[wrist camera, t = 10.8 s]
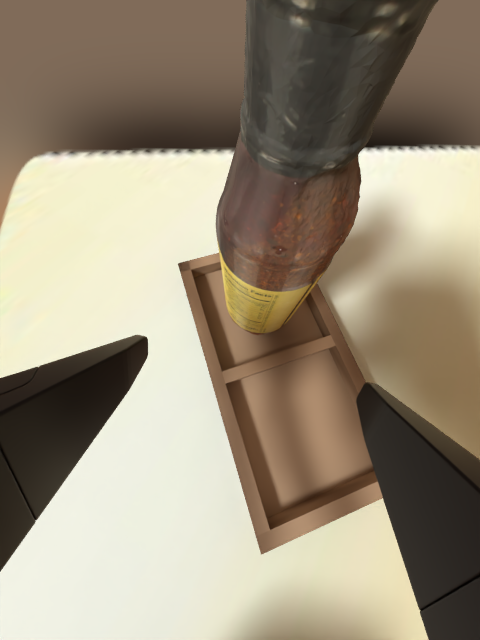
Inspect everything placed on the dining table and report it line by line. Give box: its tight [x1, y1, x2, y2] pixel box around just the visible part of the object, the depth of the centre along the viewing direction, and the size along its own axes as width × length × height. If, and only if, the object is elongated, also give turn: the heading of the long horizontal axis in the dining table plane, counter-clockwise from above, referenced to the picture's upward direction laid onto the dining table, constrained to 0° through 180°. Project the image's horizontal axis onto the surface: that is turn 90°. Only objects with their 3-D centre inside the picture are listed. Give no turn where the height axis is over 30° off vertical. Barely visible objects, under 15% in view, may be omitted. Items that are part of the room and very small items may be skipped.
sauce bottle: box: [216, 0, 438, 335], centre depth 12 cm, size 7×6×20 cm
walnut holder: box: [178, 253, 383, 554], centre depth 20 cm, size 12×23×2 cm, turn 19°
